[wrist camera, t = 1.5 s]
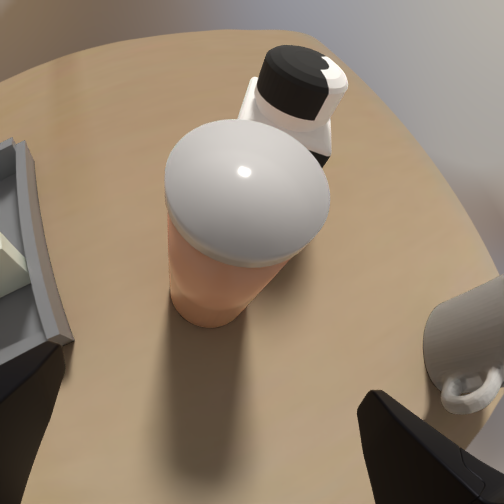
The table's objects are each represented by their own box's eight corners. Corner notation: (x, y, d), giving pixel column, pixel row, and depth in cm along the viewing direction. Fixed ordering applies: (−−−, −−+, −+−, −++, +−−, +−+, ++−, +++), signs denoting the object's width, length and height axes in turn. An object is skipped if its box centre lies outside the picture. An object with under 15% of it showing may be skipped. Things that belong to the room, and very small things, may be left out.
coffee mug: (454, 286, 28) (522, 249, 19) (486, 356, 25) (554, 335, 16) (385, 354, 23) (478, 328, 14) (425, 437, 20) (513, 437, 11)
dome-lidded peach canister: (209, 346, 20) (258, 295, 8) (152, 286, 21) (129, 166, 9) (264, 291, 22) (356, 191, 11) (209, 237, 23) (247, 102, 12)
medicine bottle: (219, 184, 25) (252, 65, 15) (235, 131, 29) (267, 27, 18) (298, 206, 26) (365, 106, 16) (302, 151, 30) (354, 58, 19)
